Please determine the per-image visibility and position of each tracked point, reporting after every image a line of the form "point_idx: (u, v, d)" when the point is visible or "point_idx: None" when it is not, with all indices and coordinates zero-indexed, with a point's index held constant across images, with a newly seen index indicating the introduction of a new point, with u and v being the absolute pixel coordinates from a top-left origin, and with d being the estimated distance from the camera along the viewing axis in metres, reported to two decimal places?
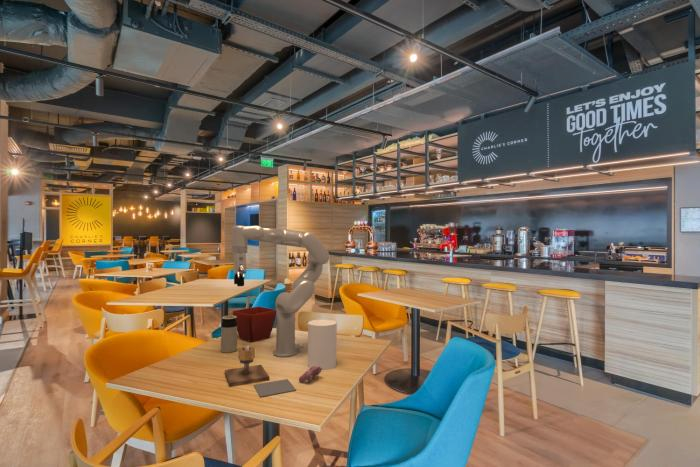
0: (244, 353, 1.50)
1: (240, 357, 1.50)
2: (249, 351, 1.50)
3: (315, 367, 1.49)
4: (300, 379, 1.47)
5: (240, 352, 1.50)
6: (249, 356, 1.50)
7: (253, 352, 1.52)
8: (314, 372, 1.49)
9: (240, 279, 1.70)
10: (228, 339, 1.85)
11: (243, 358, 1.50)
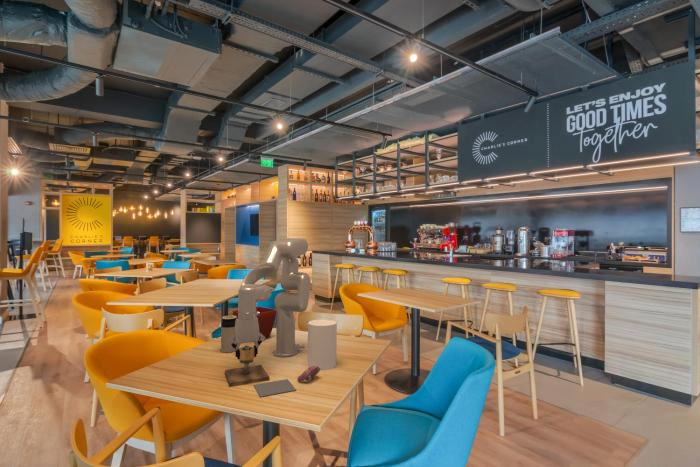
0: (244, 353, 1.50)
1: (240, 357, 1.50)
2: (249, 351, 1.50)
3: (313, 367, 1.49)
4: (299, 379, 1.47)
5: (240, 352, 1.50)
6: (249, 356, 1.50)
7: (253, 352, 1.52)
8: (312, 372, 1.49)
9: None
10: (228, 339, 1.85)
11: (243, 358, 1.50)
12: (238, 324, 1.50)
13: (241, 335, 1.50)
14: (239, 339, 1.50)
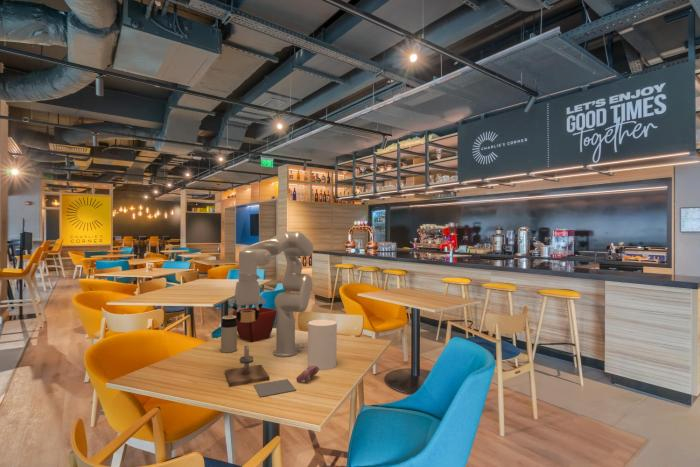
0: (245, 315, 1.50)
1: (241, 319, 1.51)
2: (250, 313, 1.51)
3: (312, 367, 1.50)
4: (298, 379, 1.47)
5: (241, 314, 1.51)
6: (250, 318, 1.51)
7: (254, 315, 1.53)
8: (311, 372, 1.49)
9: None
10: (228, 339, 1.85)
11: (244, 320, 1.50)
12: (239, 286, 1.50)
13: (242, 297, 1.50)
14: (240, 301, 1.50)
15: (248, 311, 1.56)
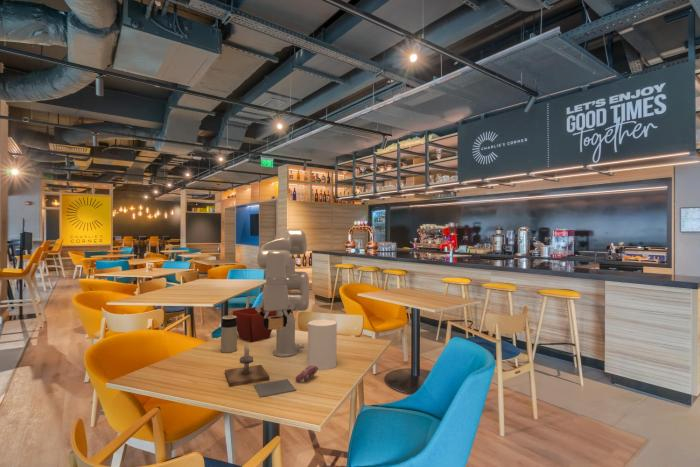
0: (273, 322, 1.38)
1: (269, 326, 1.39)
2: (278, 320, 1.39)
3: (311, 366, 1.50)
4: (297, 378, 1.47)
5: (269, 321, 1.39)
6: (278, 325, 1.39)
7: (282, 321, 1.41)
8: (310, 371, 1.49)
9: None
10: (228, 339, 1.85)
11: (272, 327, 1.38)
12: (267, 290, 1.38)
13: (270, 302, 1.39)
14: (268, 306, 1.38)
15: (276, 317, 1.44)
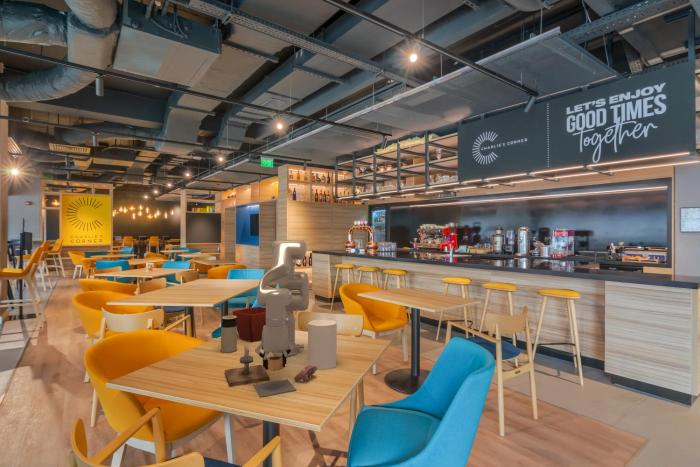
0: (273, 363, 1.38)
1: (268, 367, 1.38)
2: (278, 361, 1.38)
3: (310, 366, 1.50)
4: (295, 378, 1.47)
5: (268, 362, 1.38)
6: (278, 366, 1.38)
7: (282, 362, 1.40)
8: (309, 371, 1.50)
9: None
10: (228, 339, 1.85)
11: (272, 369, 1.38)
12: (266, 332, 1.38)
13: (269, 344, 1.38)
14: (267, 348, 1.38)
15: (275, 357, 1.43)
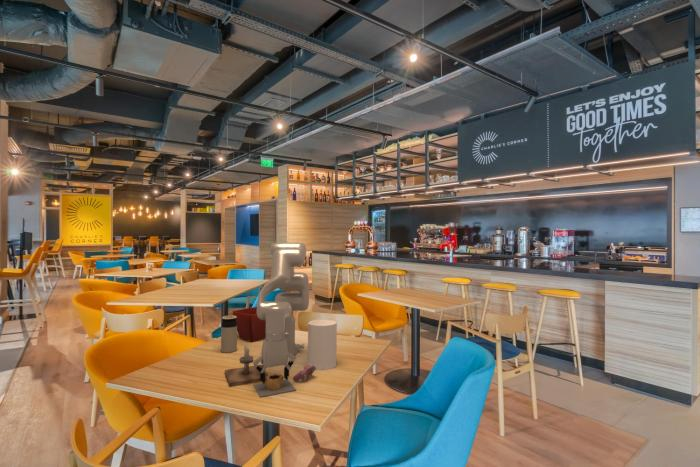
0: (272, 382, 1.38)
1: (268, 387, 1.38)
2: (277, 380, 1.38)
3: (309, 366, 1.50)
4: (294, 378, 1.48)
5: (268, 381, 1.38)
6: (277, 386, 1.38)
7: (281, 381, 1.40)
8: (308, 371, 1.50)
9: None
10: (228, 339, 1.85)
11: (271, 388, 1.38)
12: (266, 346, 1.38)
13: (269, 358, 1.38)
14: (267, 363, 1.38)
15: (275, 376, 1.43)
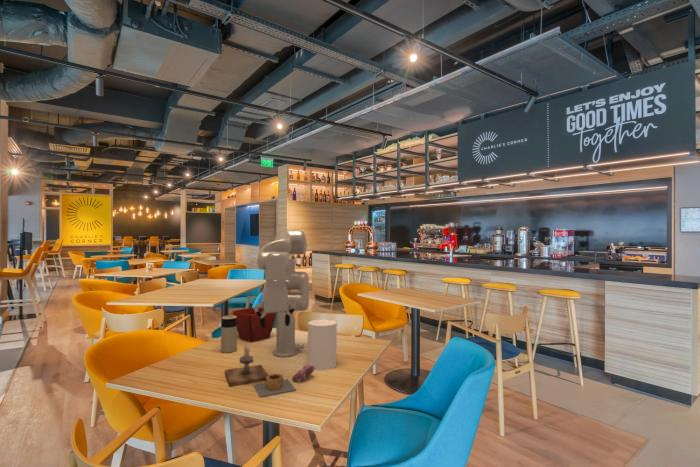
0: (272, 382, 1.38)
1: (268, 387, 1.38)
2: (277, 380, 1.38)
3: (308, 366, 1.50)
4: (293, 378, 1.48)
5: (268, 381, 1.38)
6: (277, 386, 1.38)
7: (281, 381, 1.40)
8: (307, 371, 1.50)
9: None
10: (228, 339, 1.85)
11: (271, 388, 1.38)
12: (266, 292, 1.39)
13: (270, 304, 1.39)
14: (268, 308, 1.39)
15: (275, 376, 1.43)
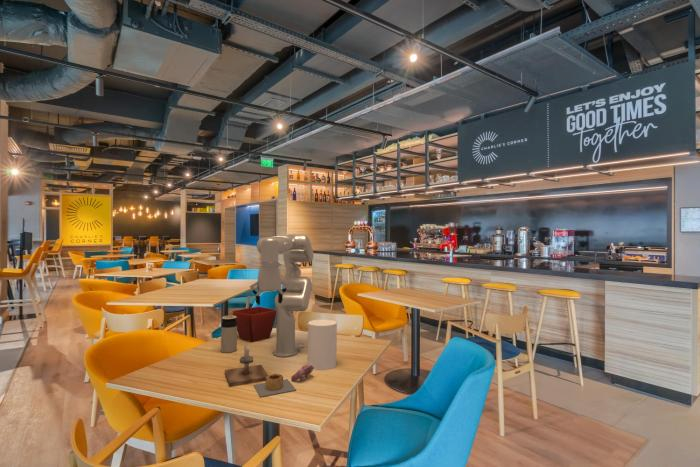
0: (272, 382, 1.38)
1: (268, 387, 1.38)
2: (277, 380, 1.38)
3: (307, 366, 1.51)
4: (292, 378, 1.48)
5: (268, 381, 1.38)
6: (277, 386, 1.38)
7: (281, 381, 1.40)
8: (306, 371, 1.50)
9: None
10: (228, 339, 1.85)
11: (271, 388, 1.38)
12: (261, 273, 1.56)
13: (264, 283, 1.57)
14: (262, 287, 1.56)
15: (275, 376, 1.43)
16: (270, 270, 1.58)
